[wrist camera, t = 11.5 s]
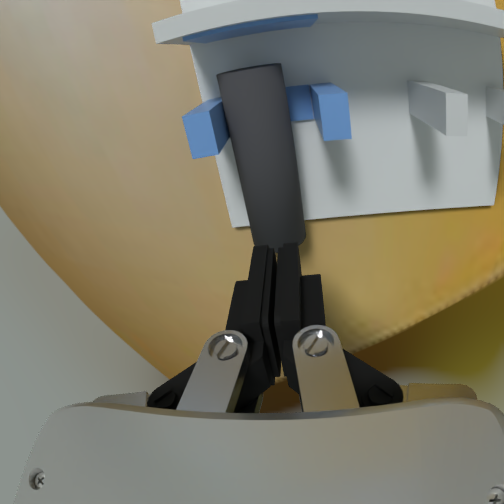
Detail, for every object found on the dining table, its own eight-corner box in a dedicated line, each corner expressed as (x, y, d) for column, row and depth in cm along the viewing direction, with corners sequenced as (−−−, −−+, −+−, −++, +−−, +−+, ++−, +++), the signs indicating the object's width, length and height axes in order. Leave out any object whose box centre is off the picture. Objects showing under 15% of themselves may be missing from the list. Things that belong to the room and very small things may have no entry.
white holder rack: (179, -14, 13) (140, -34, 8) (486, -18, 10) (537, -25, 5) (233, 223, 22) (218, 275, 17) (490, 202, 18) (529, 243, 14)
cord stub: (238, 68, 16) (203, 78, 14) (291, 61, 14) (261, 68, 12) (268, 219, 21) (243, 247, 19) (313, 226, 20) (292, 256, 18)
